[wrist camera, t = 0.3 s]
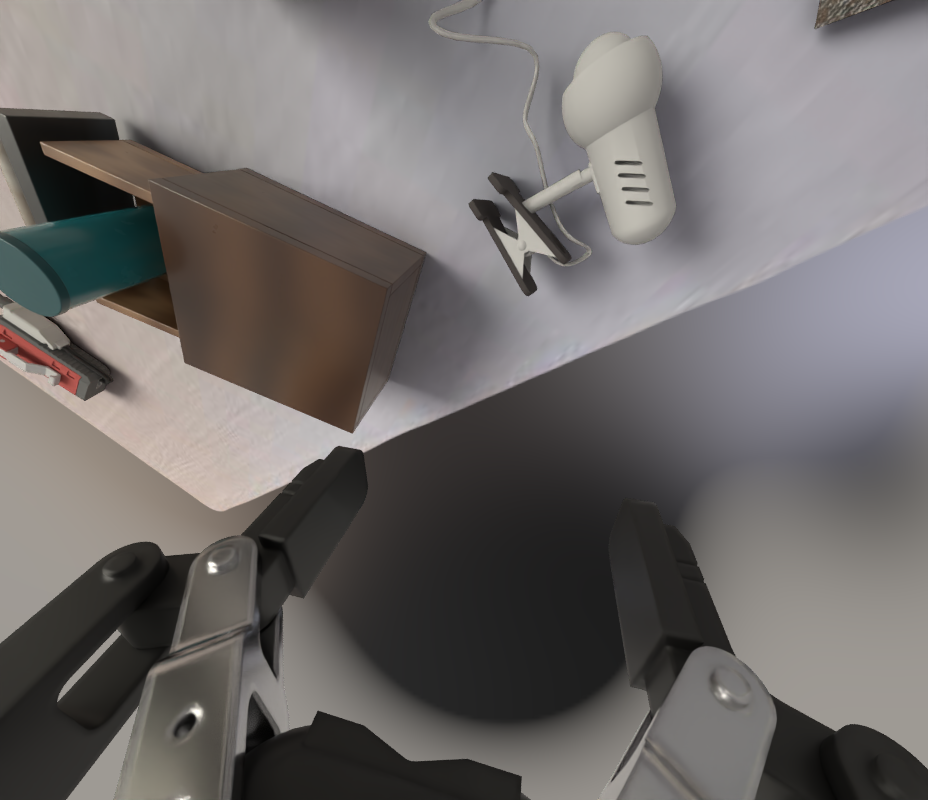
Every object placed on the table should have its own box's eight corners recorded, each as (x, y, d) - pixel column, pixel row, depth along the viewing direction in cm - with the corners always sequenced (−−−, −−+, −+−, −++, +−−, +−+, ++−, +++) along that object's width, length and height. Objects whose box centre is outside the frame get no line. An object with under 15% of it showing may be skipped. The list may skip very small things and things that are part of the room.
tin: (139, 190, 29) (-50, 216, 20) (199, 218, 29) (41, 256, 20) (152, 250, 32) (-5, 296, 23) (206, 275, 32) (73, 329, 23)
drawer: (98, 255, 35) (16, 277, 30) (44, 86, 26) (-86, 74, 21) (276, 333, 36) (228, 368, 31) (279, 196, 28) (213, 210, 22)
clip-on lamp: (428, 41, 23) (524, 293, 28) (371, -7, 18) (501, 312, 23) (608, -138, 17) (691, 223, 22) (600, -285, 12) (709, 227, 17)
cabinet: (252, 320, 37) (184, 363, 30) (246, 167, 28) (147, 178, 21) (388, 380, 38) (352, 433, 32) (426, 252, 29) (387, 288, 22)
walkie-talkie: (124, 367, 46) (-51, 245, 40) (90, 385, 43) (-109, 256, 36) (113, 396, 51) (-46, 292, 44) (81, 415, 48) (-96, 306, 41)
